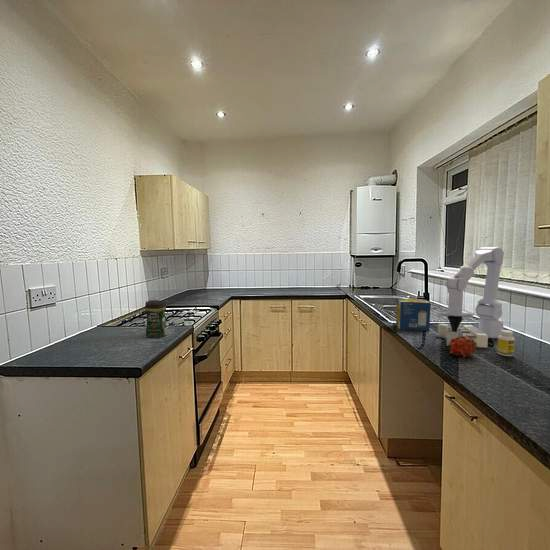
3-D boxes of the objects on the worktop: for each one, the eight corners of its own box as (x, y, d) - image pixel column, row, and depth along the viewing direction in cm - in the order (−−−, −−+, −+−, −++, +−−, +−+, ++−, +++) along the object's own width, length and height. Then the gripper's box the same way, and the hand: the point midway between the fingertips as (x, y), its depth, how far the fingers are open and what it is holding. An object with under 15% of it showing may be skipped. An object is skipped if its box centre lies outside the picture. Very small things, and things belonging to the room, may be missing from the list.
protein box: (395, 325, 176) (396, 298, 174) (424, 326, 173) (425, 299, 171) (399, 329, 165) (399, 301, 164) (430, 331, 162) (431, 302, 161)
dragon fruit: (479, 360, 124) (449, 364, 125) (468, 343, 130) (439, 347, 131) (485, 348, 118) (453, 352, 119) (473, 330, 125) (443, 334, 126)
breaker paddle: (470, 335, 143) (468, 333, 144) (472, 336, 141) (470, 335, 141) (465, 341, 144) (463, 340, 144) (467, 342, 142) (465, 341, 142)
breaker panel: (471, 336, 152) (472, 325, 152) (487, 347, 135) (487, 334, 134) (455, 335, 154) (456, 324, 154) (468, 346, 137) (469, 333, 136)
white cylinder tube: (446, 335, 154) (446, 323, 153) (449, 338, 149) (449, 326, 149) (436, 335, 155) (437, 323, 154) (439, 337, 151) (439, 325, 150)
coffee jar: (143, 338, 153) (142, 301, 151) (150, 334, 161) (149, 299, 159) (162, 338, 152) (161, 301, 151) (169, 334, 160) (167, 299, 159)
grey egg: (456, 344, 139) (456, 331, 139) (459, 347, 135) (459, 334, 135) (445, 344, 140) (445, 331, 140) (448, 346, 136) (448, 333, 136)
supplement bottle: (509, 357, 123) (510, 333, 122) (494, 353, 127) (495, 330, 127) (516, 355, 125) (517, 331, 124) (501, 351, 130) (502, 328, 129)
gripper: (440, 304, 141) (439, 333, 142) (476, 305, 137) (474, 335, 138) (436, 301, 147) (435, 329, 149) (470, 302, 144) (469, 331, 145)
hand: (454, 332), depth 144 cm, fingers closed
